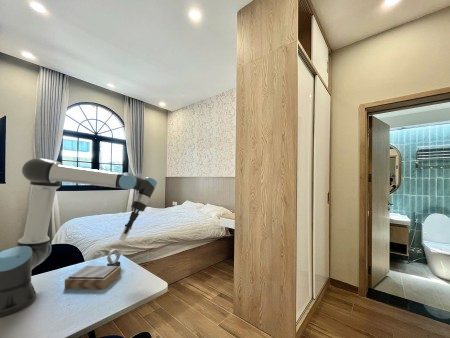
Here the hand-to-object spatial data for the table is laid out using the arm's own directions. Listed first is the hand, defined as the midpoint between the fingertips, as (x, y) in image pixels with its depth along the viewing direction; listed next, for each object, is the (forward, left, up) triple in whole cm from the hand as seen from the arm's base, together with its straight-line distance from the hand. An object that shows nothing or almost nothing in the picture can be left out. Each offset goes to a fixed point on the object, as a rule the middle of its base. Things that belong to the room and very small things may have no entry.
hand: (121, 240), depth 102 cm
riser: (-15, 0, -21) cm, 26 cm away
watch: (-14, +15, -22) cm, 30 cm away
